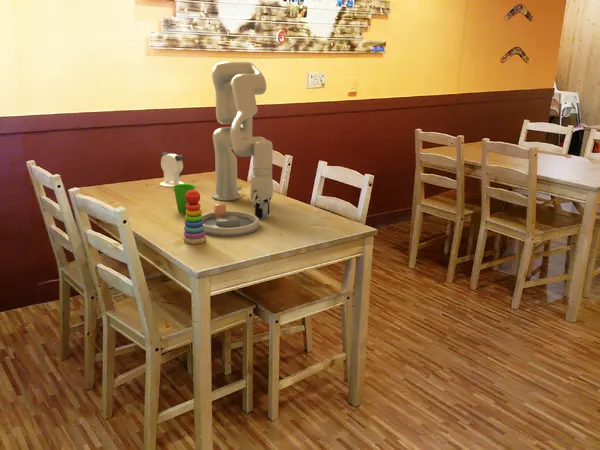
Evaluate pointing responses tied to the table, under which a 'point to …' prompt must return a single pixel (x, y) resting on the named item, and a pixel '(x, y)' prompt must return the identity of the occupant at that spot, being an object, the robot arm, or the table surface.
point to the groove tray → (230, 224)
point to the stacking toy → (193, 219)
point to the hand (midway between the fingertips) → (262, 215)
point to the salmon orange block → (219, 210)
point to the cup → (182, 196)
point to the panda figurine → (171, 169)
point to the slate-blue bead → (264, 210)
